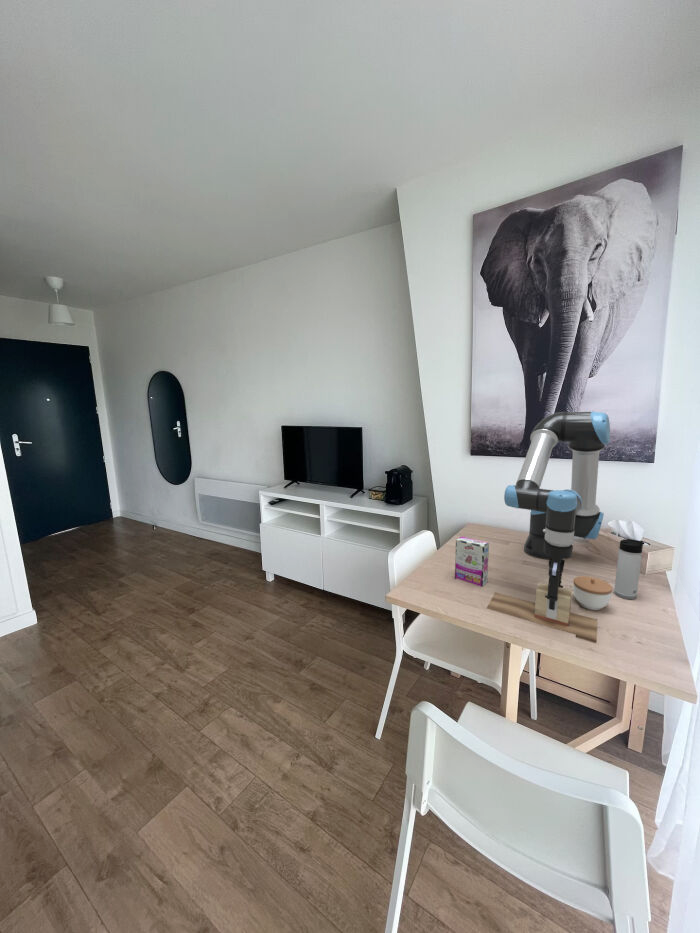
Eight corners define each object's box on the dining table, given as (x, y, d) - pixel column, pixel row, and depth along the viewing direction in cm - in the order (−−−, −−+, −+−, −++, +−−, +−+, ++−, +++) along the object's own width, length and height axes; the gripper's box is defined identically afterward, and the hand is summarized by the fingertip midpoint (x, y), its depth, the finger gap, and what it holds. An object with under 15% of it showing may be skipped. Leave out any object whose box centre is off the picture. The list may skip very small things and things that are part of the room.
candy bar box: (487, 583, 136) (489, 542, 133) (482, 588, 133) (484, 546, 130) (460, 574, 144) (461, 535, 141) (454, 579, 140) (455, 539, 137)
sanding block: (537, 608, 118) (539, 582, 117) (569, 616, 113) (571, 590, 111) (534, 616, 113) (536, 590, 112) (567, 626, 108) (570, 598, 107)
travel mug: (640, 601, 122) (647, 545, 119) (617, 597, 125) (623, 542, 121) (633, 592, 128) (640, 538, 125) (611, 589, 130) (617, 536, 127)
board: (495, 594, 128) (495, 592, 128) (596, 621, 112) (597, 619, 111) (486, 610, 119) (486, 608, 119) (596, 643, 102) (596, 640, 102)
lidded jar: (574, 593, 128) (576, 568, 127) (611, 603, 121) (614, 577, 120) (568, 606, 120) (571, 580, 118) (608, 618, 113) (611, 590, 112)
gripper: (548, 530, 119) (543, 595, 123) (539, 550, 103) (534, 623, 107) (575, 535, 114) (569, 602, 118) (570, 556, 99) (563, 632, 103)
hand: (552, 612), depth 113 cm, fingers closed on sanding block, 6 cm apart
